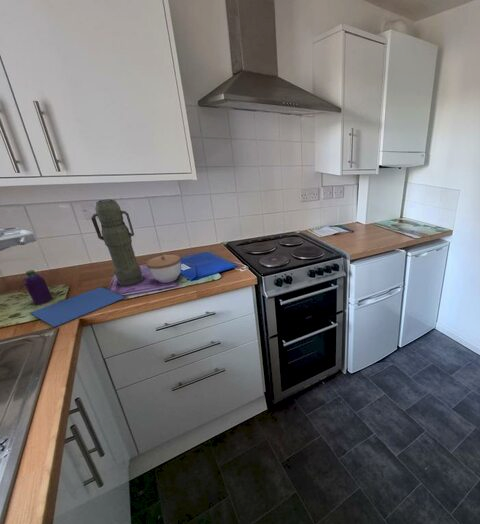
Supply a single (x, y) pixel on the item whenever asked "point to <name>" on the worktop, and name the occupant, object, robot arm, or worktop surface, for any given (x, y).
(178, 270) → the lidded bowl
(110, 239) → the thermos
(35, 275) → the purple bottle
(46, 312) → the napkin
